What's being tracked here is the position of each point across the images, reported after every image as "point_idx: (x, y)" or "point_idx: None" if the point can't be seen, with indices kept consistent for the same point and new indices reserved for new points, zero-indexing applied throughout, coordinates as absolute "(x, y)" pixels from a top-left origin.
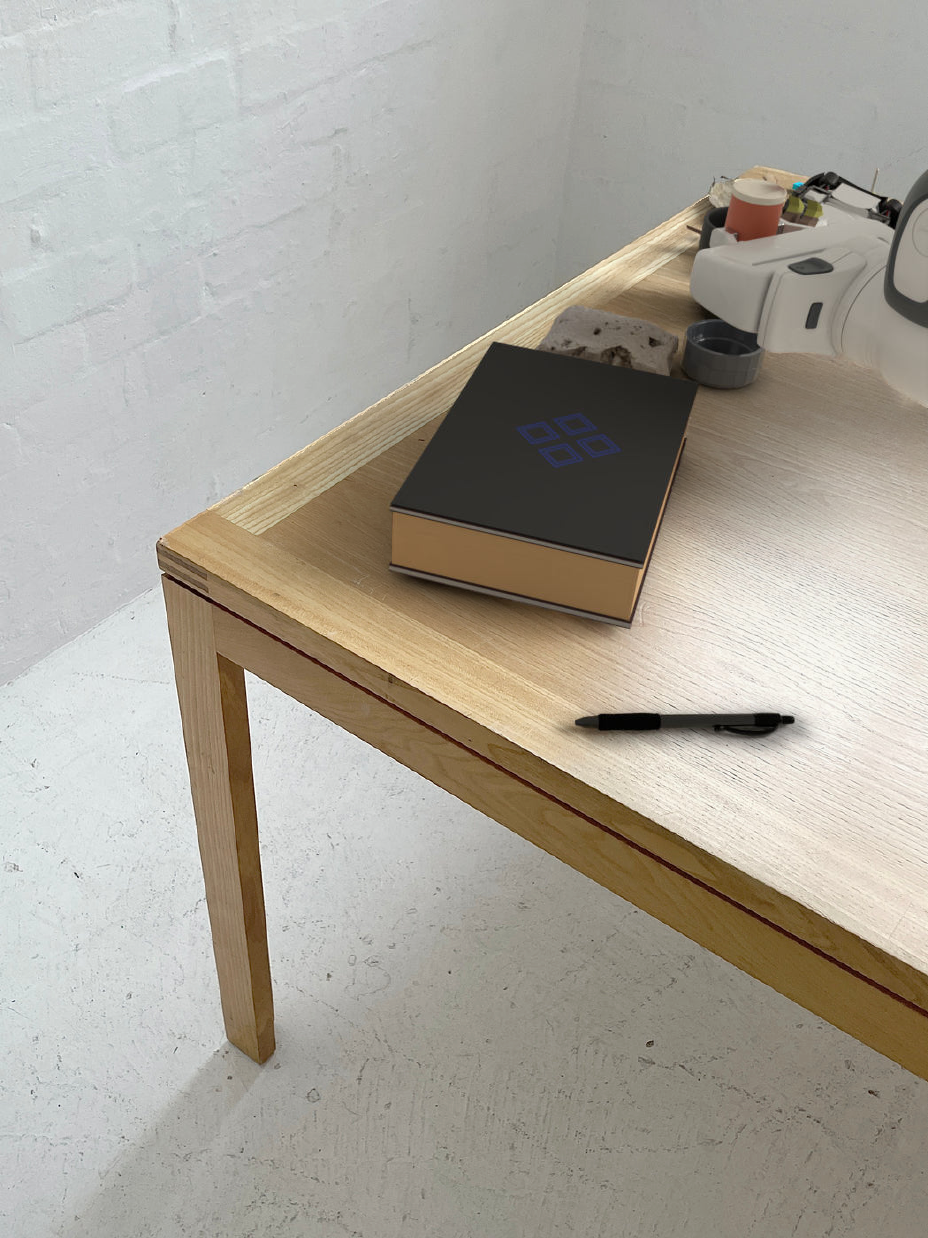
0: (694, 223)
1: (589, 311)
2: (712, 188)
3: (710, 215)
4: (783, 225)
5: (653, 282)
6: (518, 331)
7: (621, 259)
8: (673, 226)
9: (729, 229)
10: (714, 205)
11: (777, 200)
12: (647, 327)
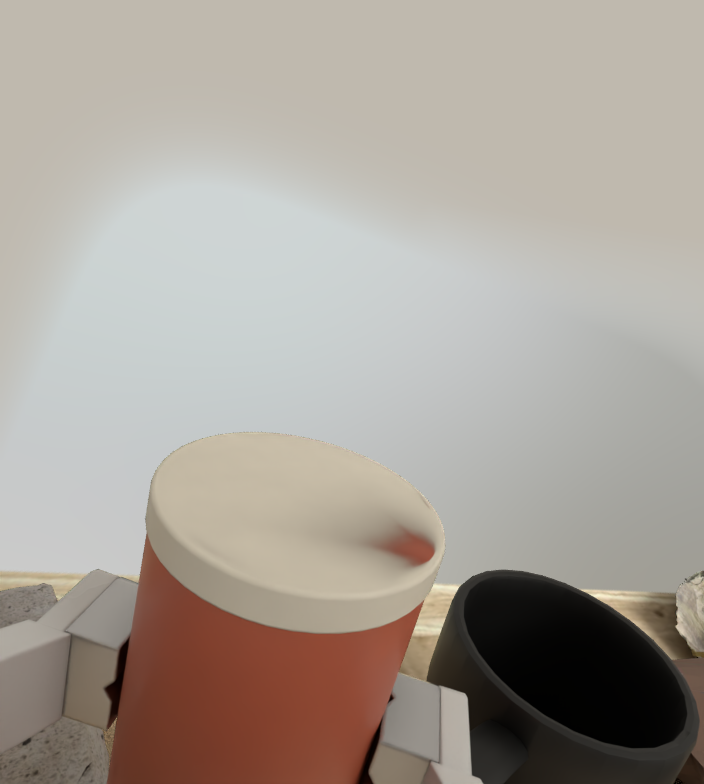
0: (629, 607)
1: (39, 618)
2: (699, 578)
3: (502, 580)
4: (425, 765)
5: (429, 653)
6: (70, 584)
7: (436, 587)
8: (588, 593)
9: (128, 608)
10: (679, 599)
11: (247, 595)
12: (32, 758)
